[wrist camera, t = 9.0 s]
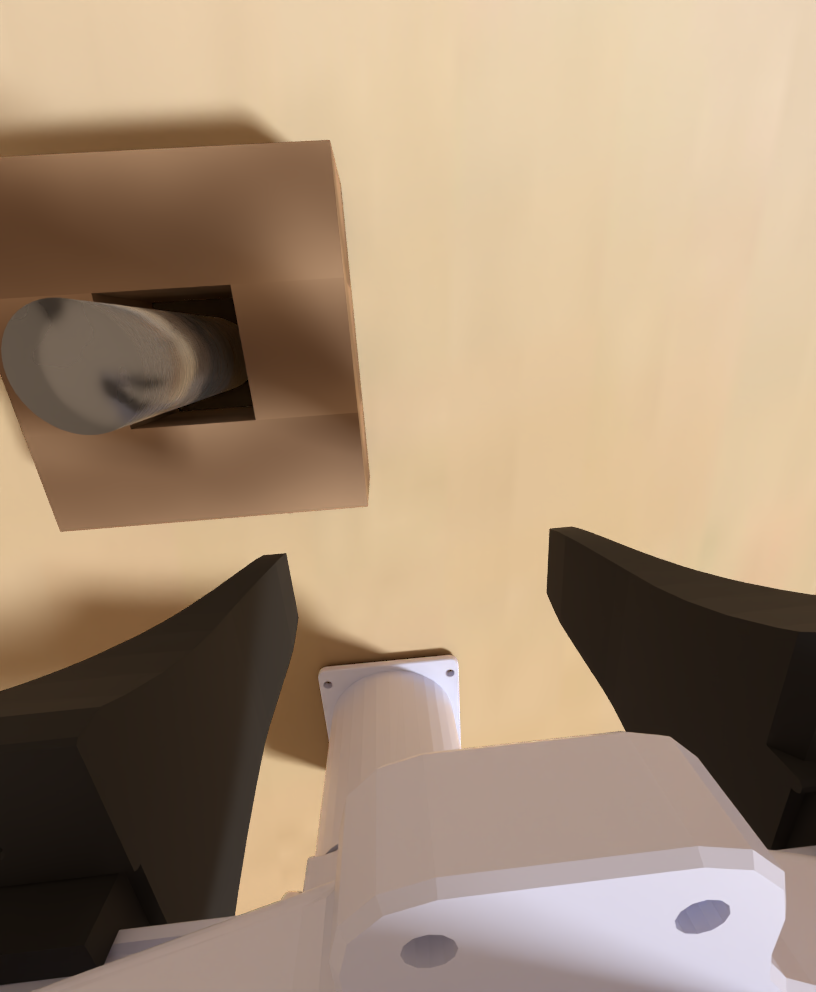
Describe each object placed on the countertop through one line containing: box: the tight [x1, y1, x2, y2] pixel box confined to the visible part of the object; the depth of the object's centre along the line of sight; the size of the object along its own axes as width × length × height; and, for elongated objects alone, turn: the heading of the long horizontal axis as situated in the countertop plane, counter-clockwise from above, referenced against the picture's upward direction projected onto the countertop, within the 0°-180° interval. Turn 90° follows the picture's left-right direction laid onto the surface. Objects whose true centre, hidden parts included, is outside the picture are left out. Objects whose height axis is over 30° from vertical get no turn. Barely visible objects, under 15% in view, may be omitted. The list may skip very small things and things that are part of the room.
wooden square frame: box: [0, 140, 370, 532], centre depth 17 cm, size 12×12×4 cm
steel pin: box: [1, 298, 248, 435], centre depth 14 cm, size 3×3×10 cm
